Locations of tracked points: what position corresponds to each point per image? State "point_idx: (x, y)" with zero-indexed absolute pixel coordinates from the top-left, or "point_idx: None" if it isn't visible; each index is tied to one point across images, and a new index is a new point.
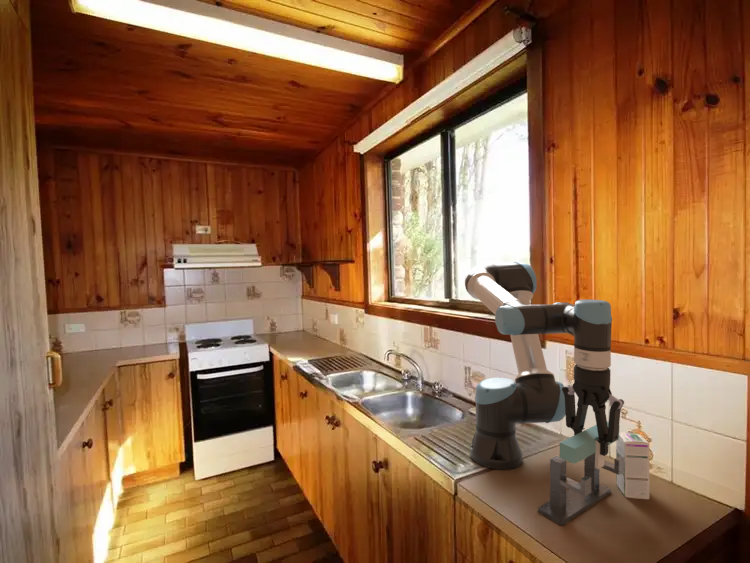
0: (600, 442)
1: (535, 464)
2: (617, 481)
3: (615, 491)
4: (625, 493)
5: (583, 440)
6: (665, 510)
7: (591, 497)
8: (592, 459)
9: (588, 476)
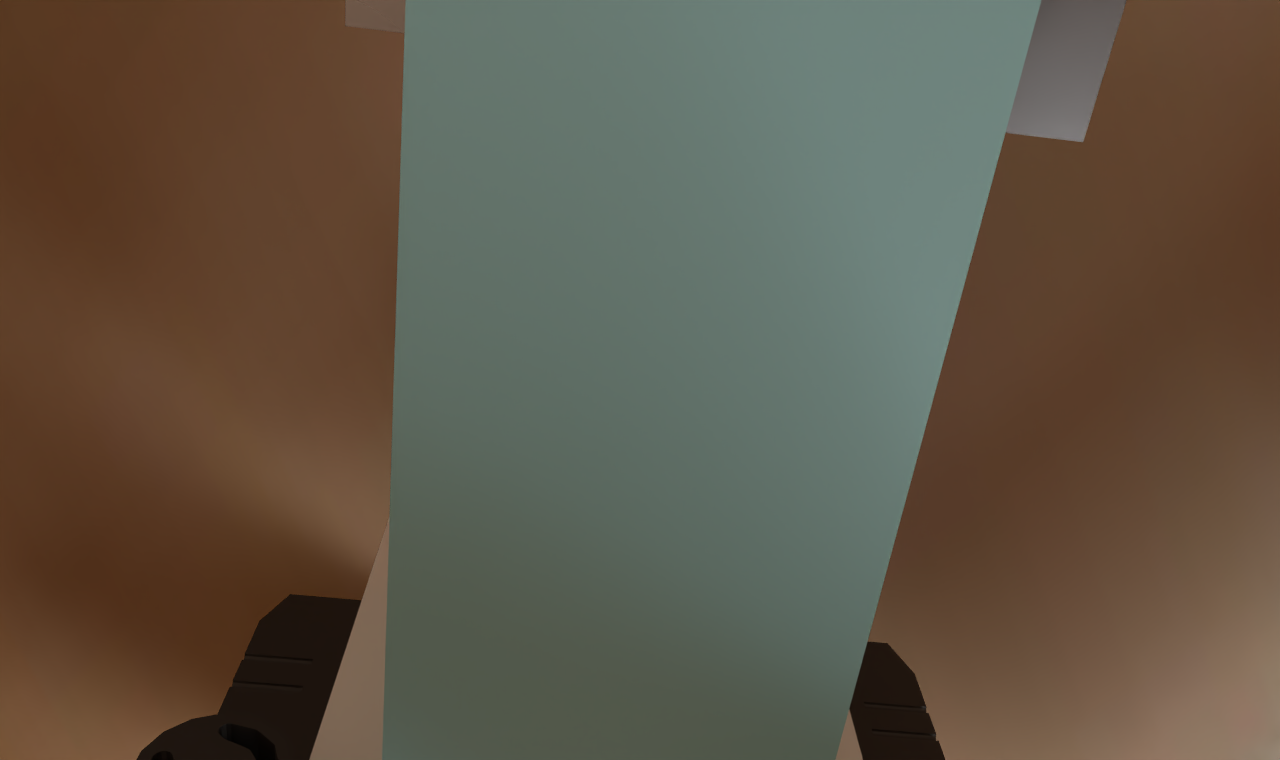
0: (207, 732)
1: (1266, 578)
2: None
3: None
4: None
5: (528, 483)
6: (178, 663)
7: None
8: None
9: (391, 16)
